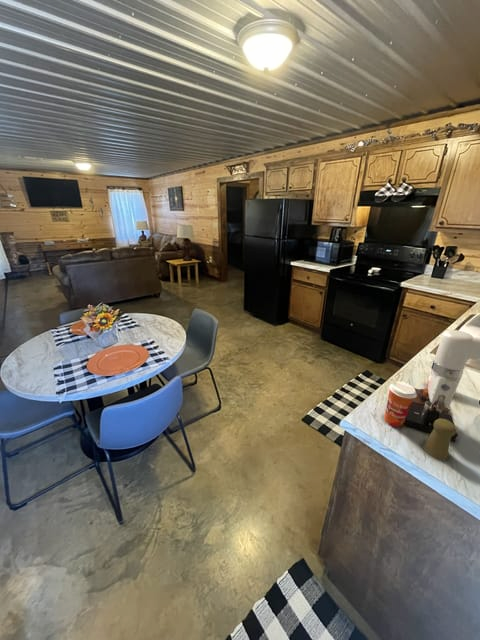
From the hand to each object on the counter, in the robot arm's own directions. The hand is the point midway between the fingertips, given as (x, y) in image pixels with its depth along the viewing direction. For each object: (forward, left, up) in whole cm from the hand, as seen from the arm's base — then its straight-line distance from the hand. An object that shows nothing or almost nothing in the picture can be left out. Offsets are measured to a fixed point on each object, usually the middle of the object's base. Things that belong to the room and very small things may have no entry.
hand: (429, 414), depth 88 cm
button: (-1, -13, 0) cm, 13 cm away
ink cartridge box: (-7, -25, -4) cm, 26 cm away
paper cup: (+10, +4, -4) cm, 12 cm away
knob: (0, 0, -1) cm, 1 cm away
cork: (-1, +12, -4) cm, 13 cm away
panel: (0, 0, -4) cm, 4 cm away
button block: (-1, -13, -4) cm, 14 cm away
